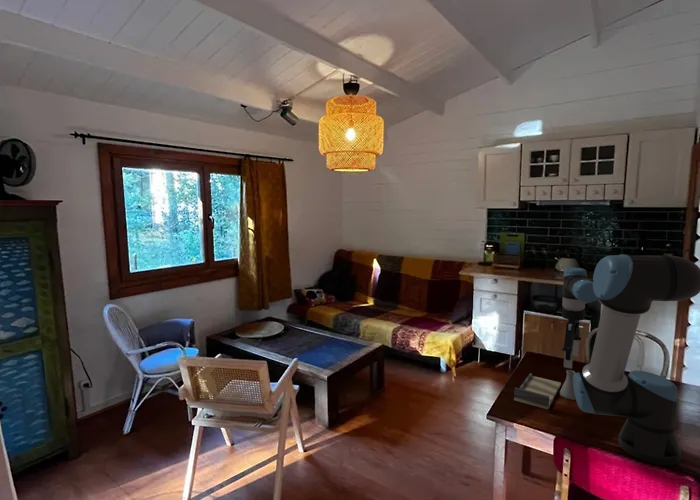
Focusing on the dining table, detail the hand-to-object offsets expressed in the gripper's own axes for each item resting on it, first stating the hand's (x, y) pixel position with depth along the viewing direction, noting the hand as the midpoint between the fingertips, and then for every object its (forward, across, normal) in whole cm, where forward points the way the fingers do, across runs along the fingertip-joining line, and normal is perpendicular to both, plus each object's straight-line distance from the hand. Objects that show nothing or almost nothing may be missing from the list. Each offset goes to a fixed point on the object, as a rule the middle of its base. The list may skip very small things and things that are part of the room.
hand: (571, 361), depth 152 cm
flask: (+14, 0, 0) cm, 14 cm away
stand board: (+14, -4, +10) cm, 18 cm away
